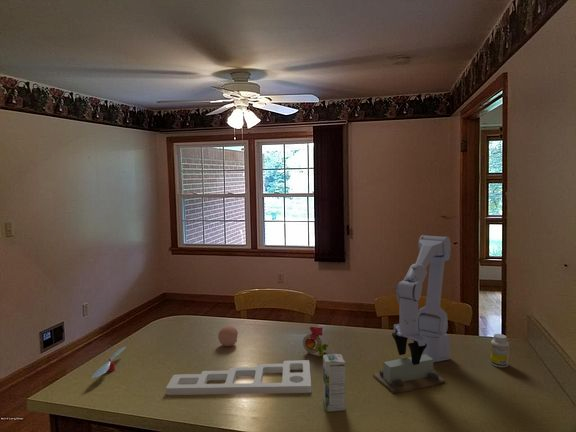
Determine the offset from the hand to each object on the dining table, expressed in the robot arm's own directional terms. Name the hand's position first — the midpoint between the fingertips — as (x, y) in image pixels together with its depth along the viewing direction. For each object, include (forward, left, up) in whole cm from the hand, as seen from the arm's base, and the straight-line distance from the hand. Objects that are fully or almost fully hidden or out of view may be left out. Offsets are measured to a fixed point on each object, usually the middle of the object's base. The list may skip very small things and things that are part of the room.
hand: (408, 359), depth 136 cm
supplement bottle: (-35, +2, -7) cm, 36 cm away
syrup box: (+29, +6, -7) cm, 31 cm away
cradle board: (0, 0, -7) cm, 7 cm away
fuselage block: (0, 0, -6) cm, 6 cm away
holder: (+51, -19, -8) cm, 55 cm away
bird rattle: (+21, -29, -7) cm, 37 cm away
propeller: (+93, -43, -7) cm, 103 cm away
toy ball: (+50, -49, -7) cm, 70 cm away
